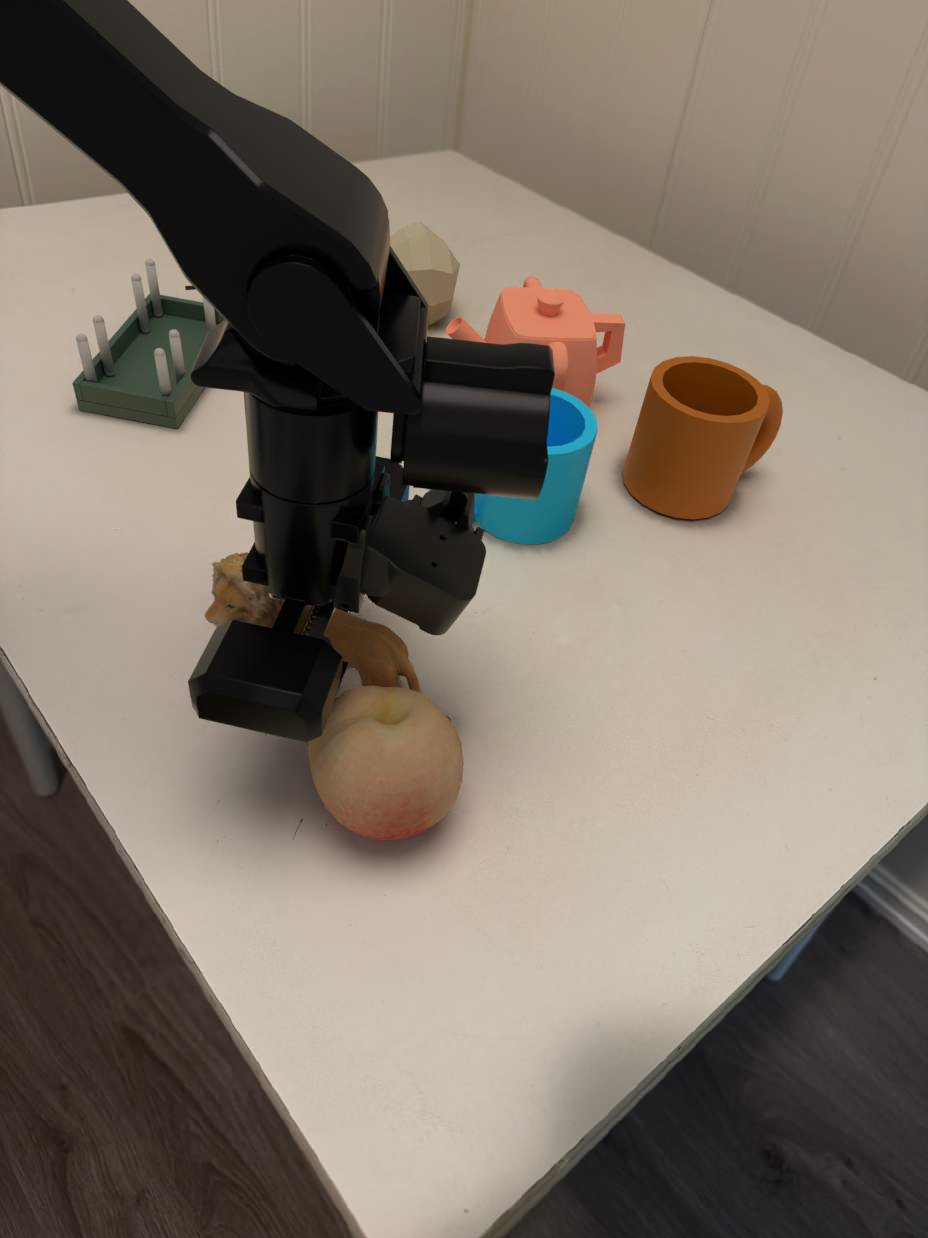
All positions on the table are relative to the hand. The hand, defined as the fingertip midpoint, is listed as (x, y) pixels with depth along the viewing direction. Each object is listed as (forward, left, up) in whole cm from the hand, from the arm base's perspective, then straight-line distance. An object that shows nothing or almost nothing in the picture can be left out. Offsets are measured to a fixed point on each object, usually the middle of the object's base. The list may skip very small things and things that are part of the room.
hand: (314, 677), depth 52 cm
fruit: (+6, -6, -2) cm, 8 cm away
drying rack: (-21, +30, -2) cm, 37 cm away
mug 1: (+9, +20, -2) cm, 22 cm away
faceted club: (-11, +44, -2) cm, 45 cm away
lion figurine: (+1, 0, -2) cm, 2 cm away
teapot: (+9, +36, -2) cm, 37 cm away
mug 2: (+24, +28, -2) cm, 37 cm away
